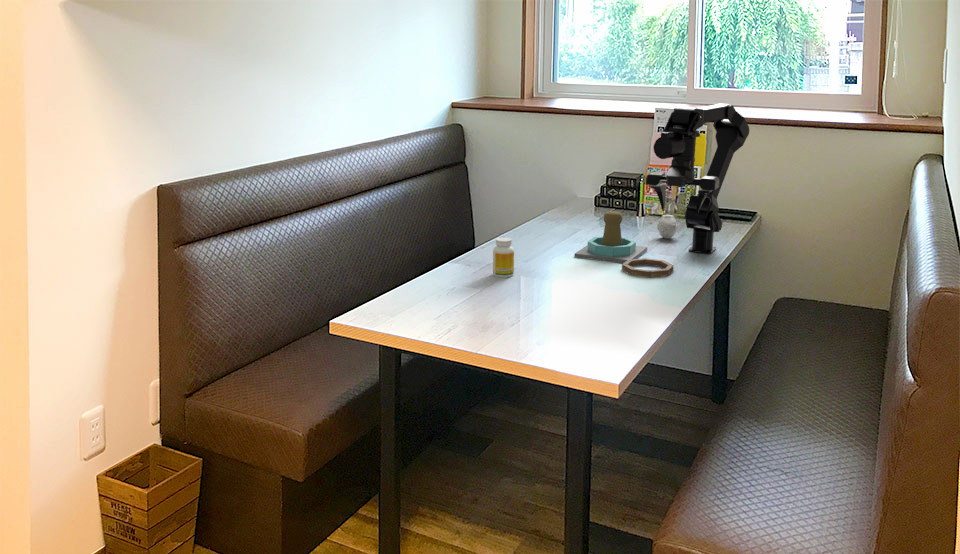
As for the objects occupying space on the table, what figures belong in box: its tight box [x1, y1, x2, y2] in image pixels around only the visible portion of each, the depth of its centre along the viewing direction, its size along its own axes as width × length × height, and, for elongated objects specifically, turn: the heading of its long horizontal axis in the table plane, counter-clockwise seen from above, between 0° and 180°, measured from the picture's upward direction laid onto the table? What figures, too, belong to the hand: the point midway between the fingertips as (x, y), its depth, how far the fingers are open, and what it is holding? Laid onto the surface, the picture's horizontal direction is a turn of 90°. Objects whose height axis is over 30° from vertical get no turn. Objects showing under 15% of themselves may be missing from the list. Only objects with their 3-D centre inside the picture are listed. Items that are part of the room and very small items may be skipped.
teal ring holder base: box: [573, 236, 648, 264], centre depth 252 cm, size 16×16×4 cm
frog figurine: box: [656, 214, 679, 240], centre depth 269 cm, size 6×7×7 cm
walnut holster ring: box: [621, 257, 675, 278], centre depth 236 cm, size 12×12×2 cm
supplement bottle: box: [492, 237, 515, 279], centre depth 231 cm, size 5×5×10 cm
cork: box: [602, 210, 623, 246], centre depth 251 cm, size 6×6×11 cm
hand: (680, 212), depth 244 cm, fingers open, 9 cm apart
